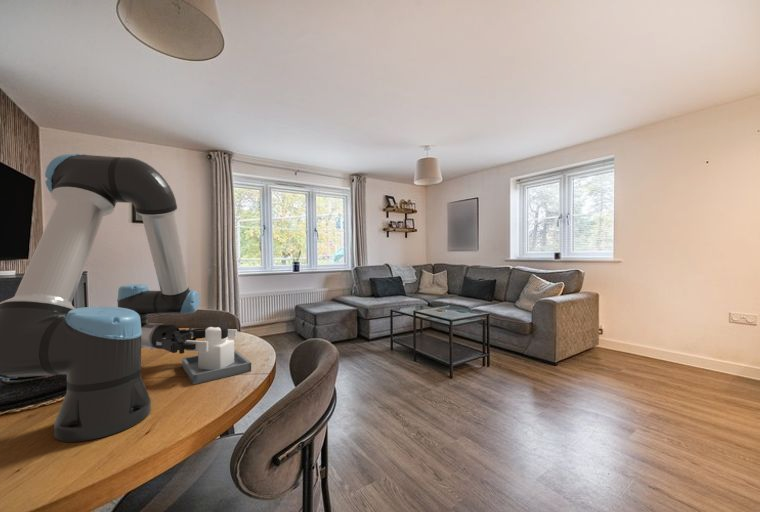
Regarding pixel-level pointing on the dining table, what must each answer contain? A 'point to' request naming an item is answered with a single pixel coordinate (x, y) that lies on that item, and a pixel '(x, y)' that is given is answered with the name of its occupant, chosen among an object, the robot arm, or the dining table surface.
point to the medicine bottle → (216, 349)
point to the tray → (207, 375)
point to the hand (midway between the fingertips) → (223, 339)
